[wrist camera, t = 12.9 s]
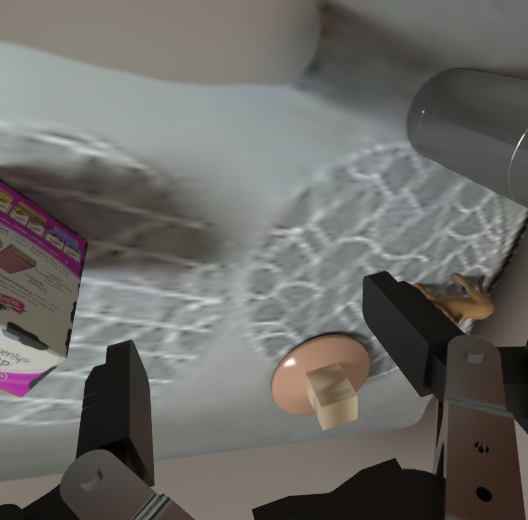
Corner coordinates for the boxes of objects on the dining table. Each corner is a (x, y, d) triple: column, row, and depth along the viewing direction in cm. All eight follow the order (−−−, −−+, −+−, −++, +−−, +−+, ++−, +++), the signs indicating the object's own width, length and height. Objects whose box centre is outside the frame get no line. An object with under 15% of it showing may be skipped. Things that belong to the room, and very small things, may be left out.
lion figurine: (389, 319, 58) (426, 364, 51) (388, 291, 55) (428, 335, 48) (479, 287, 60) (528, 326, 52) (483, 258, 57) (535, 295, 49)
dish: (366, 319, 57) (372, 327, 55) (364, 389, 65) (368, 397, 64) (264, 349, 54) (267, 357, 53) (275, 417, 62) (278, 426, 61)
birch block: (338, 362, 57) (357, 395, 52) (339, 385, 60) (357, 419, 55) (305, 372, 56) (321, 407, 52) (307, 395, 59) (323, 430, 54)
